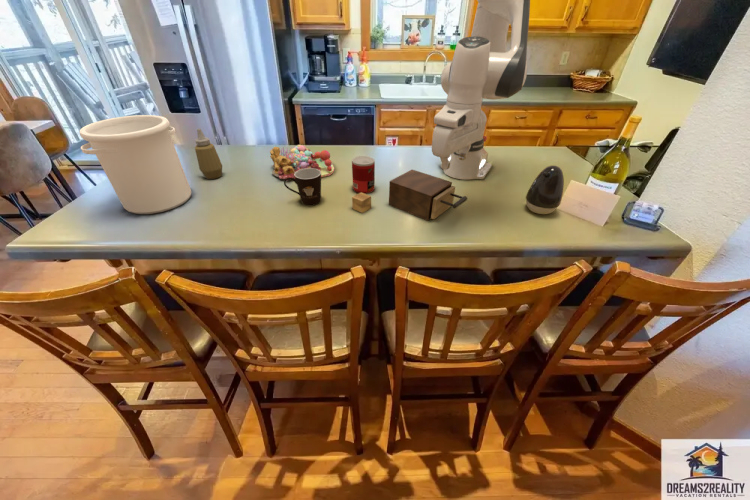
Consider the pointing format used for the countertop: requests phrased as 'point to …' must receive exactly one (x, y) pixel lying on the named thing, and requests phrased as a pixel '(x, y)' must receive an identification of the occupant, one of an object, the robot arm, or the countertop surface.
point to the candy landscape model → (300, 161)
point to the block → (361, 202)
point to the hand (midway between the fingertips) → (453, 164)
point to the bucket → (139, 161)
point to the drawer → (445, 201)
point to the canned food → (363, 174)
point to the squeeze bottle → (207, 157)
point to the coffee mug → (307, 185)
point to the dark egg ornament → (546, 191)
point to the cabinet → (415, 192)
